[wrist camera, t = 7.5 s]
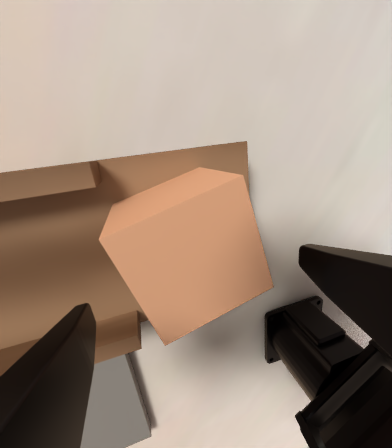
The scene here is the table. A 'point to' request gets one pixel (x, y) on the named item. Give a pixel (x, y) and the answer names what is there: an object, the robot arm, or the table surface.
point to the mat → (115, 407)
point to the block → (188, 249)
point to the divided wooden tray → (80, 244)
